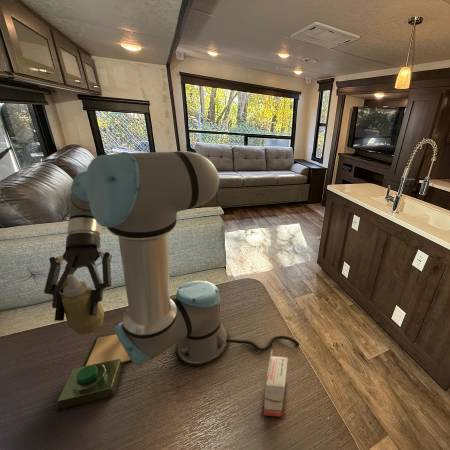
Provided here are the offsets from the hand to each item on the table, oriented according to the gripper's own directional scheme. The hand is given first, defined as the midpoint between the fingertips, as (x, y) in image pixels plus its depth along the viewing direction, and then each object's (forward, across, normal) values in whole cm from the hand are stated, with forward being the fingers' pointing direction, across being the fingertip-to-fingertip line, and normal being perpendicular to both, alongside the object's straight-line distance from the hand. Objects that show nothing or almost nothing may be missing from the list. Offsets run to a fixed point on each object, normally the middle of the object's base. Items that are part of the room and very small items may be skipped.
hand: (76, 317), depth 65 cm
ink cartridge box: (+32, -48, +5) cm, 58 cm away
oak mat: (+10, -4, -16) cm, 19 cm away
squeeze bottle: (+2, 0, -8) cm, 8 cm away
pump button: (+15, -2, -4) cm, 16 cm away
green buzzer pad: (+18, -2, -8) cm, 20 cm away
